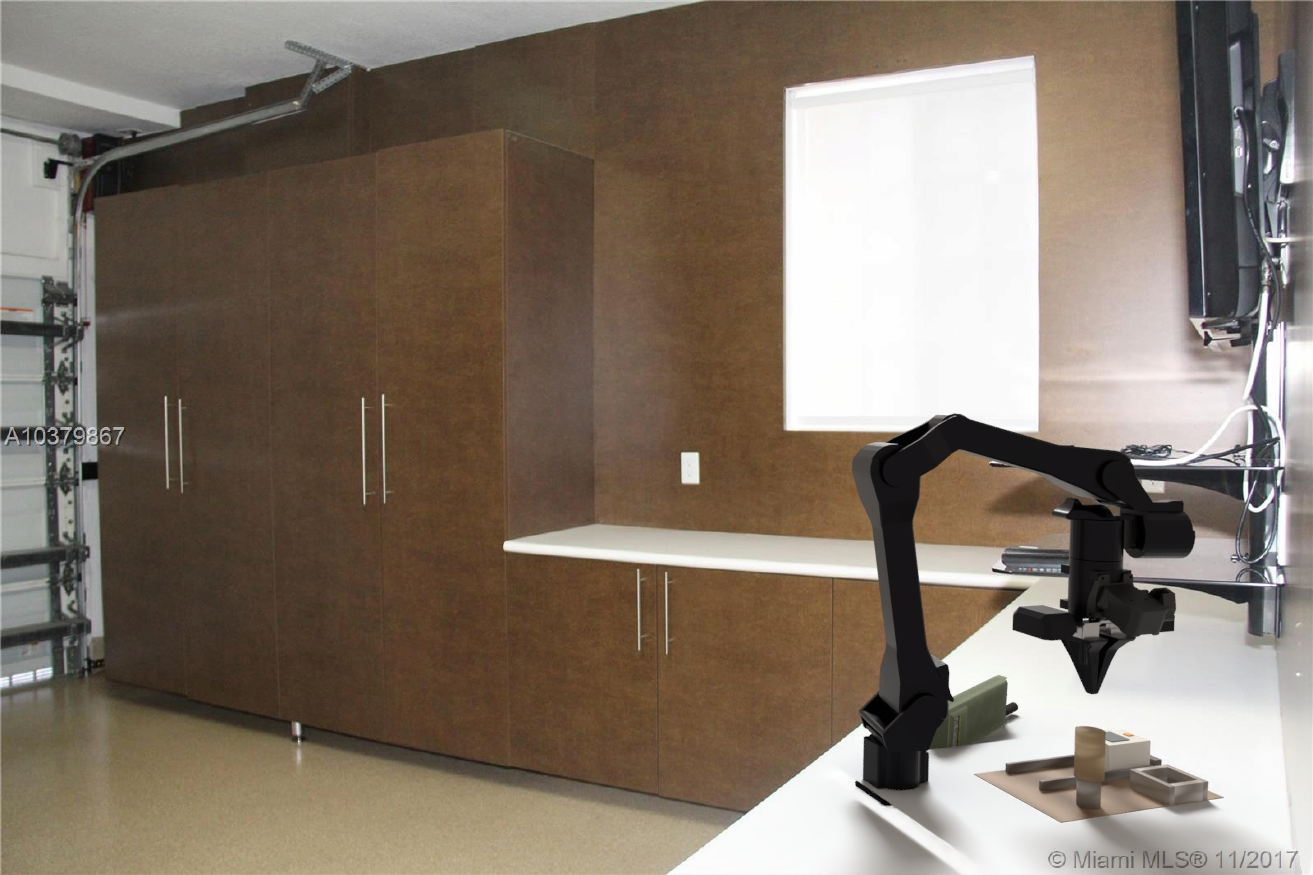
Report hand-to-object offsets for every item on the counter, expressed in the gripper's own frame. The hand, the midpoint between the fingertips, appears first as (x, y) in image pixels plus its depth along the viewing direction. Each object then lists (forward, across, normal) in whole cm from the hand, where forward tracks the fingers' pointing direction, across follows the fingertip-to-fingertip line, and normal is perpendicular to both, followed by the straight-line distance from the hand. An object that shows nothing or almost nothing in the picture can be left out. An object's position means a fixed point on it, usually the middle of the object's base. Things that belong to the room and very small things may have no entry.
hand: (1091, 693), depth 114 cm
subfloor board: (+11, -2, -3) cm, 11 cm away
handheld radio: (+12, 0, +20) cm, 23 cm away
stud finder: (+9, +4, +1) cm, 10 cm away
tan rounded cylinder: (+10, -7, -7) cm, 14 cm away
